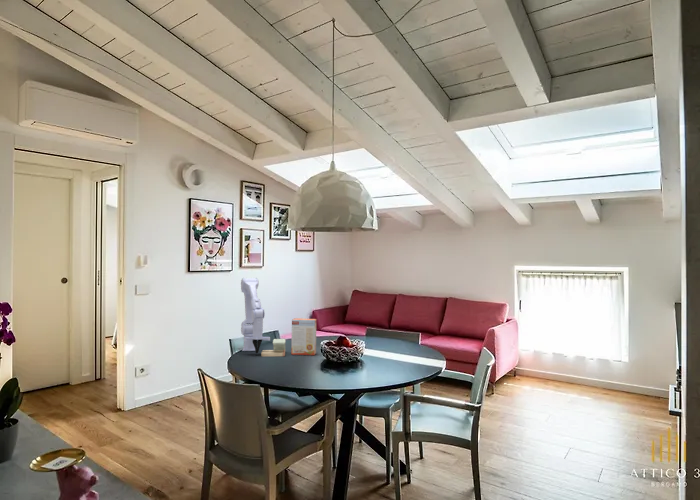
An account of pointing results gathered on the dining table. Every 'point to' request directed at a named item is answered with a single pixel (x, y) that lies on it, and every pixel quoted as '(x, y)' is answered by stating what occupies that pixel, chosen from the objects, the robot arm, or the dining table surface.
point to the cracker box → (303, 336)
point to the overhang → (279, 345)
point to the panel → (272, 353)
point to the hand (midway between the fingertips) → (257, 352)
